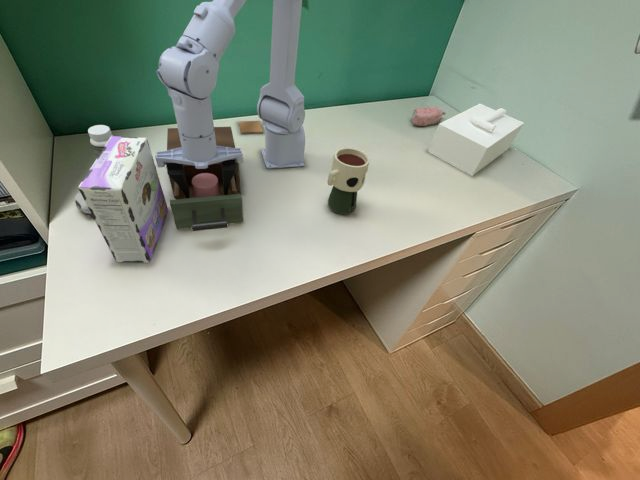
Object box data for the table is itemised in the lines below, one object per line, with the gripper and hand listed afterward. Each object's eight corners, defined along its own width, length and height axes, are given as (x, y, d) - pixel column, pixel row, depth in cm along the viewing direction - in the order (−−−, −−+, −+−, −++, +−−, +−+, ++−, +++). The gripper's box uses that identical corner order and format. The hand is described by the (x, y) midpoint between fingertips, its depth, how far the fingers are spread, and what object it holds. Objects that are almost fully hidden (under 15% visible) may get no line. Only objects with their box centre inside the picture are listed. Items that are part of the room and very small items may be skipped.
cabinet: (240, 193, 72) (238, 162, 66) (174, 198, 69) (166, 166, 63) (233, 156, 82) (230, 126, 76) (174, 159, 78) (167, 128, 72)
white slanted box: (427, 151, 95) (442, 115, 87) (467, 128, 108) (483, 96, 101) (471, 176, 89) (492, 139, 81) (508, 148, 102) (528, 115, 94)
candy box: (138, 209, 65) (110, 133, 53) (169, 210, 66) (148, 136, 54) (114, 263, 56) (74, 186, 44) (151, 263, 57) (121, 188, 45)
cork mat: (259, 122, 95) (259, 120, 94) (263, 133, 91) (263, 131, 91) (238, 123, 93) (238, 121, 93) (241, 134, 89) (241, 132, 89)
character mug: (333, 225, 69) (344, 174, 59) (312, 206, 72) (319, 155, 63) (369, 207, 74) (383, 158, 65) (348, 190, 78) (359, 141, 68)
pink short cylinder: (219, 194, 68) (217, 172, 64) (221, 209, 65) (219, 187, 61) (195, 196, 67) (191, 173, 63) (196, 211, 64) (191, 189, 60)
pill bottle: (115, 171, 72) (101, 137, 66) (95, 167, 73) (80, 132, 66) (128, 160, 76) (116, 126, 70) (109, 156, 76) (95, 122, 70)
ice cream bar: (453, 111, 107) (421, 116, 101) (447, 123, 110) (416, 129, 104) (440, 102, 110) (408, 107, 104) (435, 114, 114) (403, 119, 107)
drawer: (246, 239, 62) (245, 214, 58) (176, 247, 59) (169, 222, 54) (235, 181, 74) (233, 157, 69) (176, 185, 70) (170, 160, 66)
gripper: (147, 144, 50) (166, 210, 60) (243, 140, 54) (246, 203, 64) (150, 121, 55) (167, 186, 64) (238, 120, 59) (242, 181, 68)
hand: (206, 193), depth 64 cm, fingers open, 6 cm apart
